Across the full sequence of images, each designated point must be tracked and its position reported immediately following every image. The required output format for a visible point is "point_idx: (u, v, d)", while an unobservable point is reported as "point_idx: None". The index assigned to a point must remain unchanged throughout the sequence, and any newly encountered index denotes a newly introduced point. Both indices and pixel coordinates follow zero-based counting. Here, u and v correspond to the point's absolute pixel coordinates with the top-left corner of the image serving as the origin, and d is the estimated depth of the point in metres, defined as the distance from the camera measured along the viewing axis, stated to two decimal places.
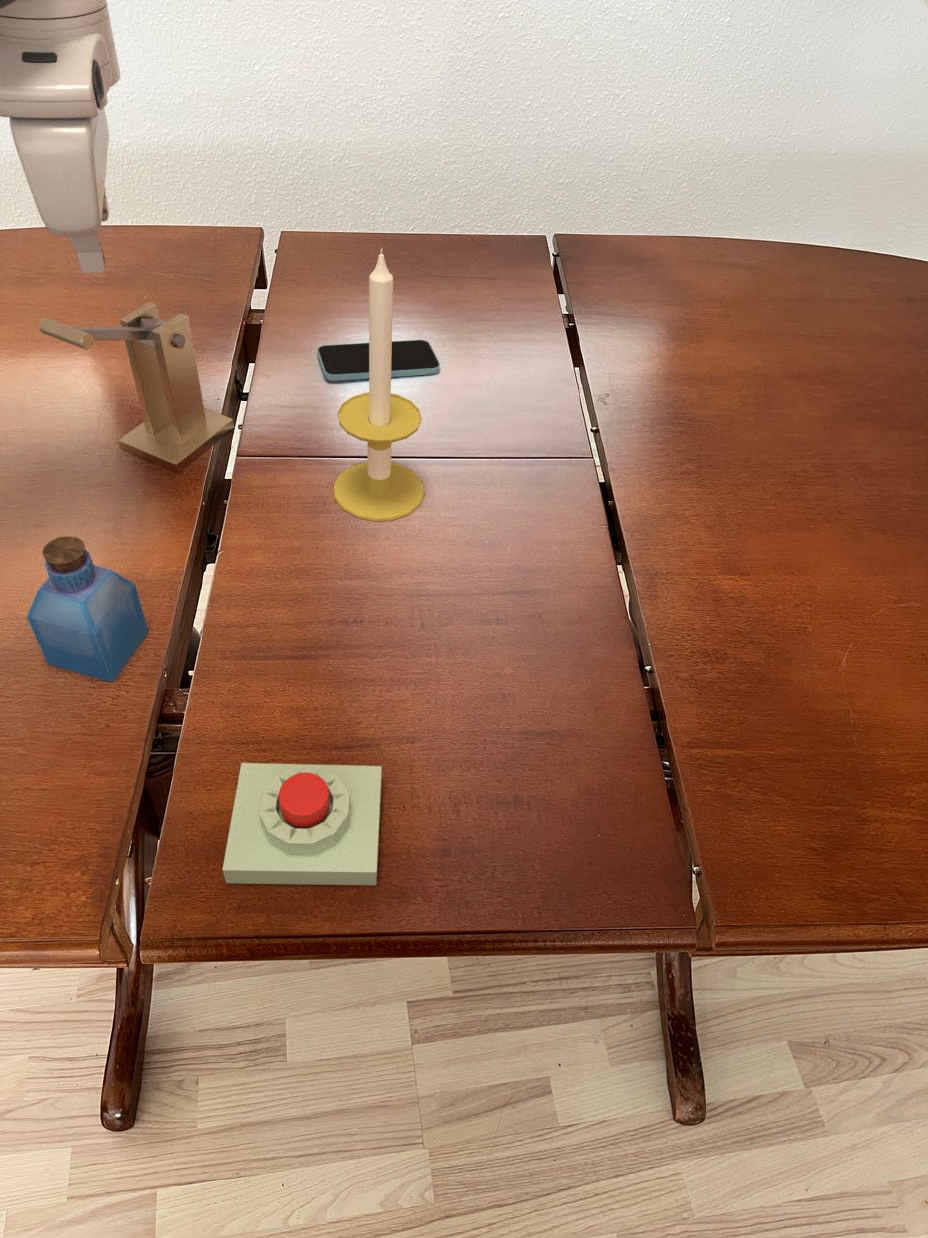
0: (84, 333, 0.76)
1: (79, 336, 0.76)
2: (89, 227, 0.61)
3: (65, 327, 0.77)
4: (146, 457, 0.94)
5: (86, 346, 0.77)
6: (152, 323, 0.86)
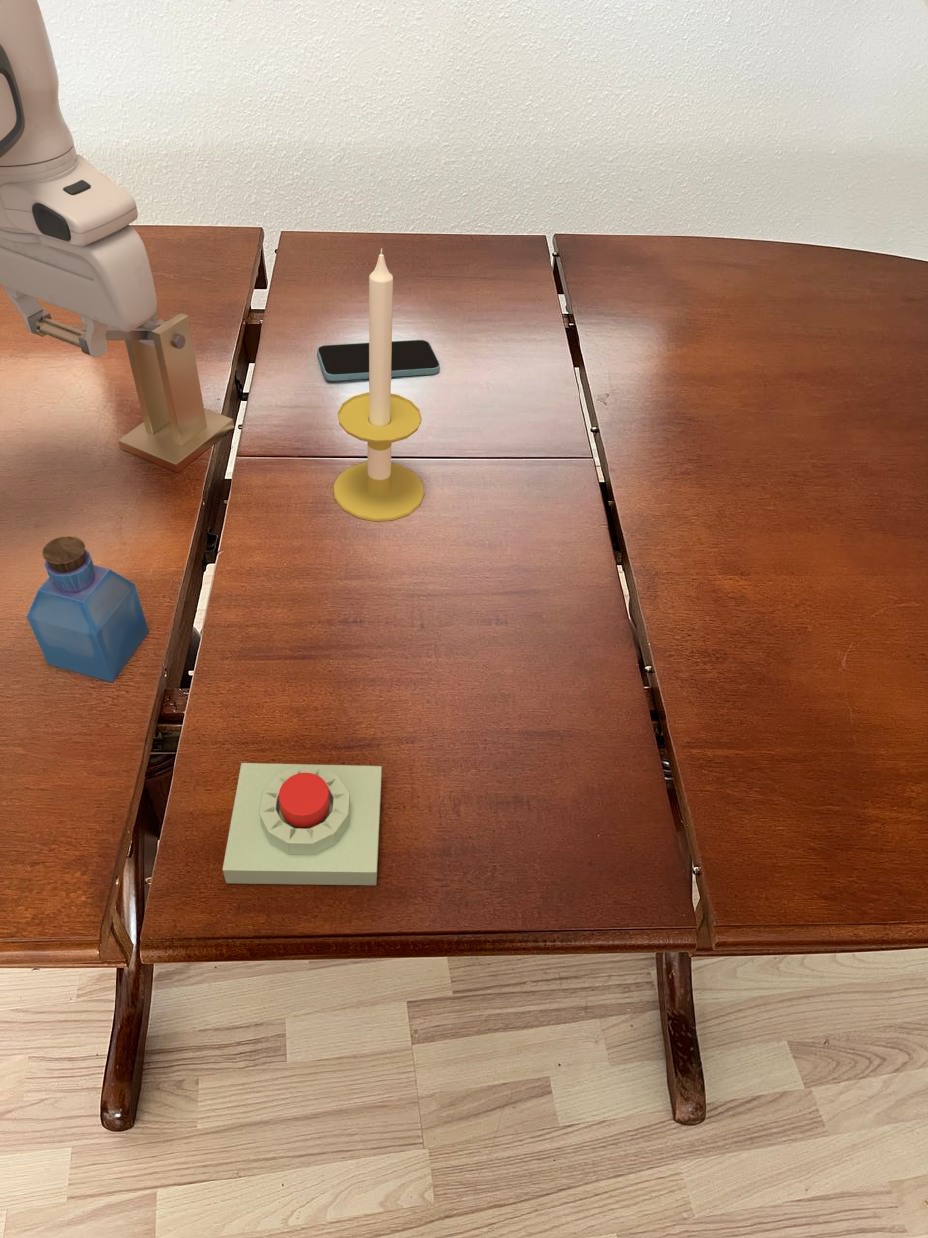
0: (84, 333, 0.76)
1: None
2: (154, 311, 0.72)
3: (65, 327, 0.77)
4: (146, 457, 0.94)
5: None
6: (152, 323, 0.86)
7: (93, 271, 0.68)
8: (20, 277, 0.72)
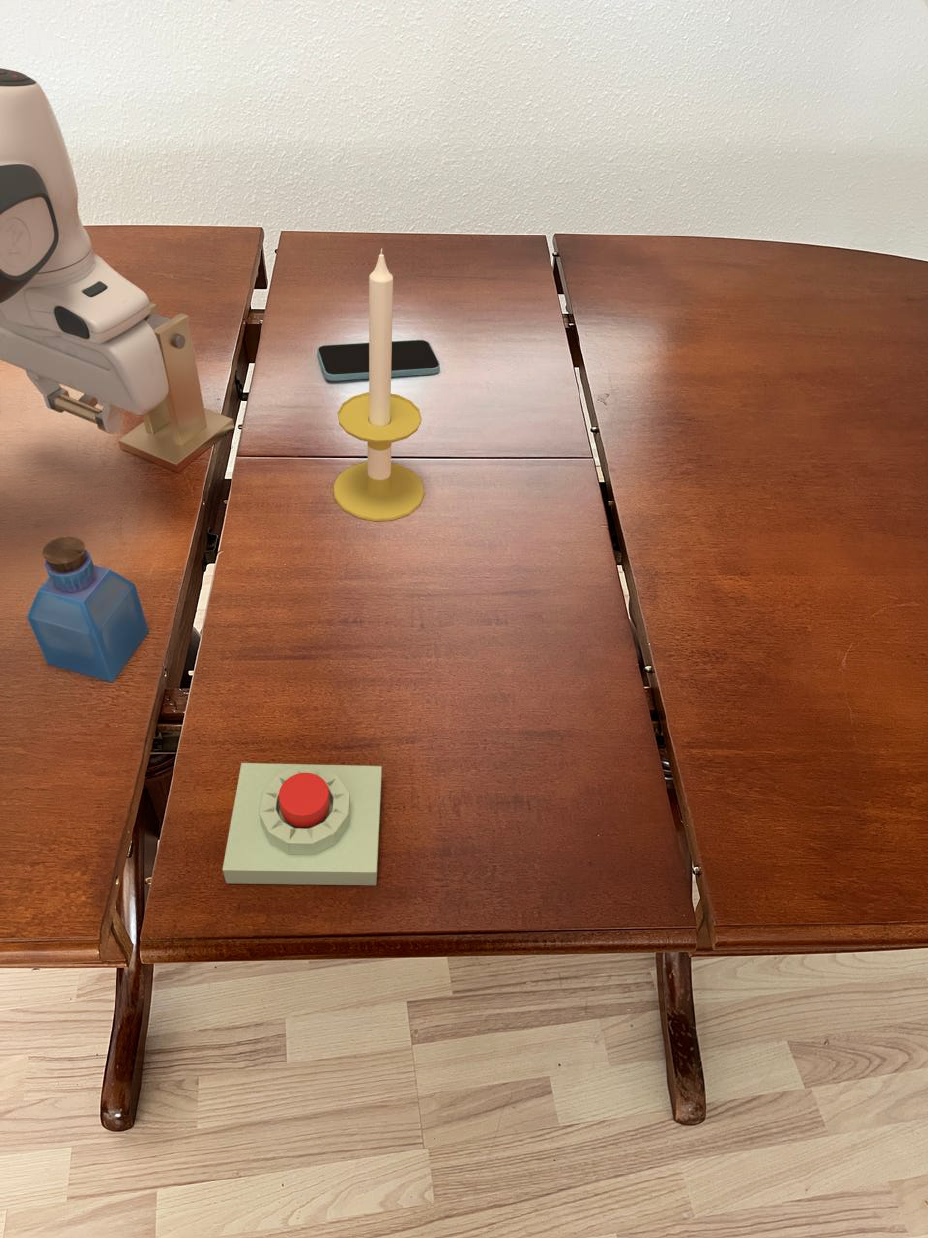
0: (94, 413, 0.81)
1: (91, 417, 0.81)
2: (165, 395, 0.78)
3: (77, 407, 0.82)
4: (146, 457, 0.94)
5: None
6: None
7: (110, 363, 0.73)
8: (41, 363, 0.78)
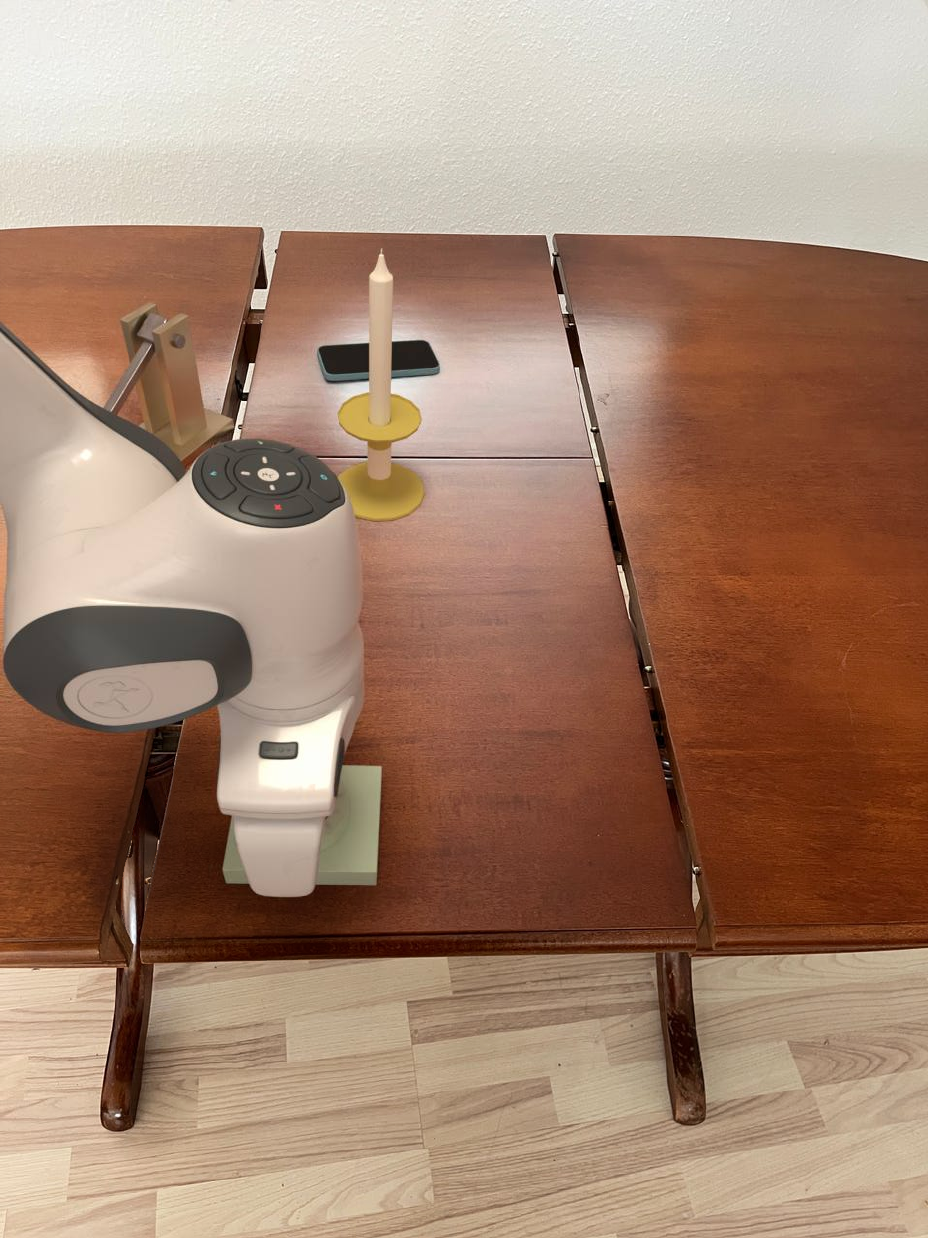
0: None
1: None
2: (302, 895, 0.52)
3: None
4: None
5: None
6: (148, 339, 0.87)
7: None
8: None
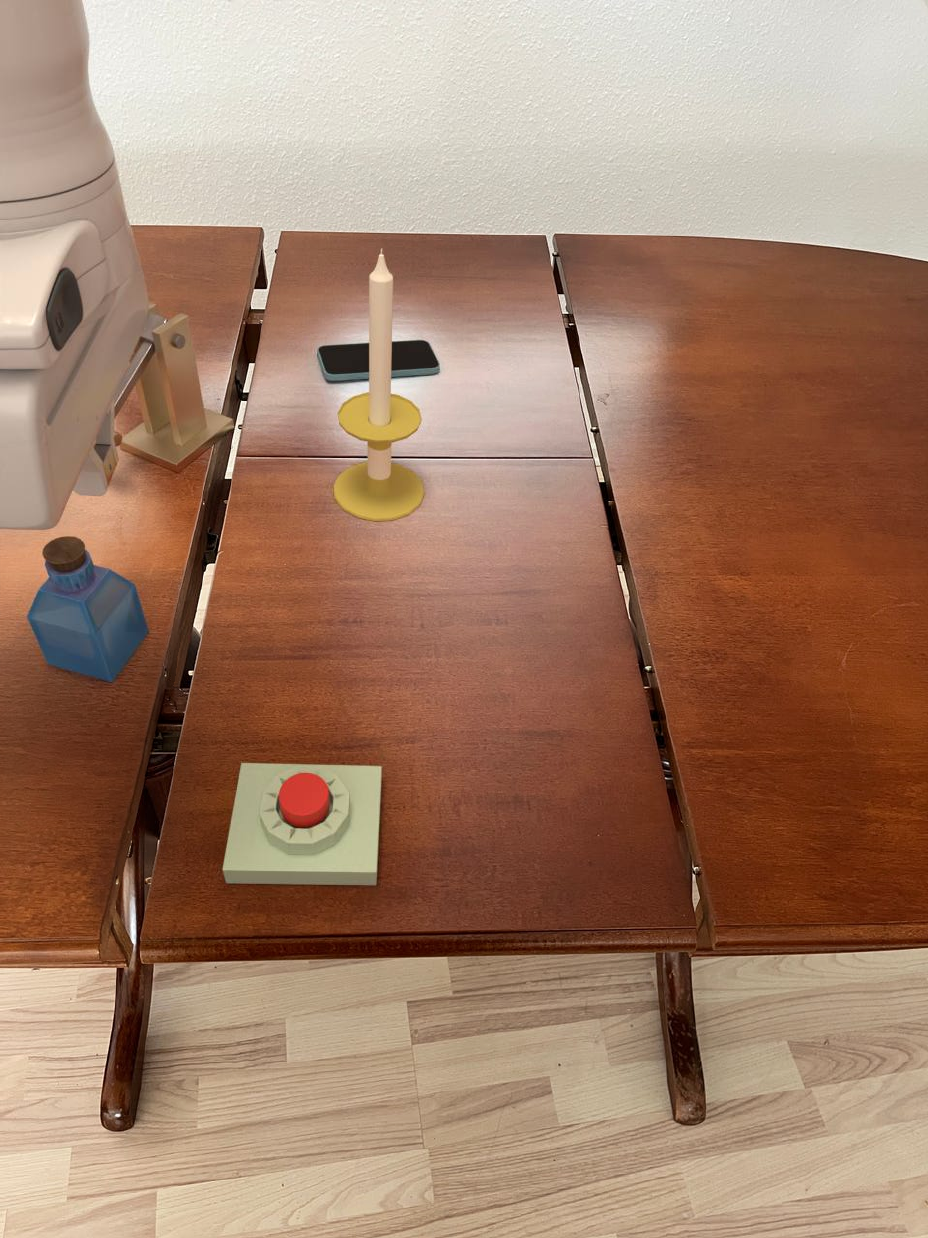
0: None
1: None
2: (34, 524, 0.37)
3: None
4: (146, 457, 0.94)
5: (119, 442, 0.85)
6: (148, 339, 0.87)
7: None
8: None
